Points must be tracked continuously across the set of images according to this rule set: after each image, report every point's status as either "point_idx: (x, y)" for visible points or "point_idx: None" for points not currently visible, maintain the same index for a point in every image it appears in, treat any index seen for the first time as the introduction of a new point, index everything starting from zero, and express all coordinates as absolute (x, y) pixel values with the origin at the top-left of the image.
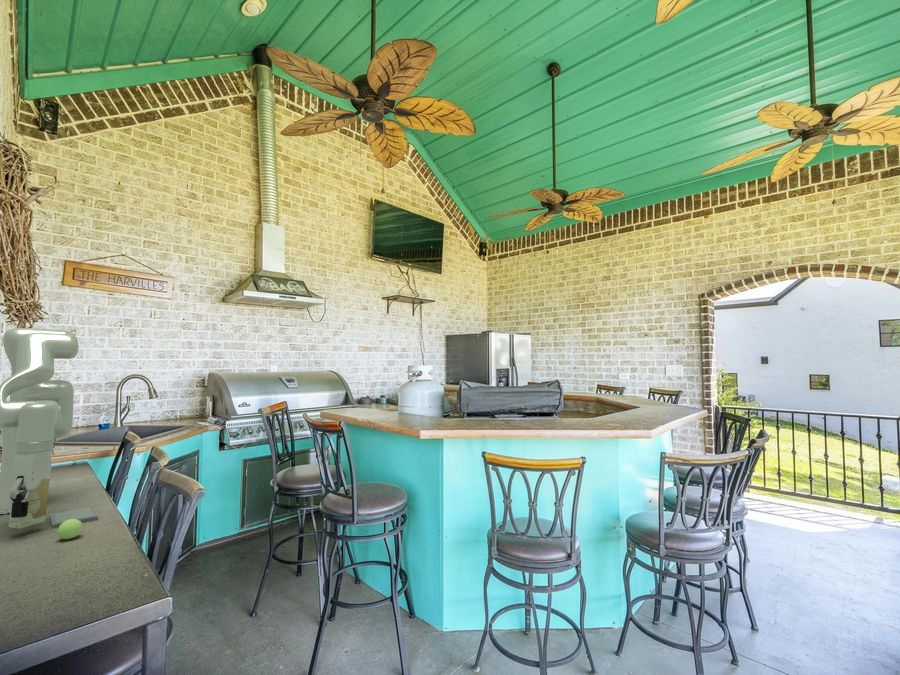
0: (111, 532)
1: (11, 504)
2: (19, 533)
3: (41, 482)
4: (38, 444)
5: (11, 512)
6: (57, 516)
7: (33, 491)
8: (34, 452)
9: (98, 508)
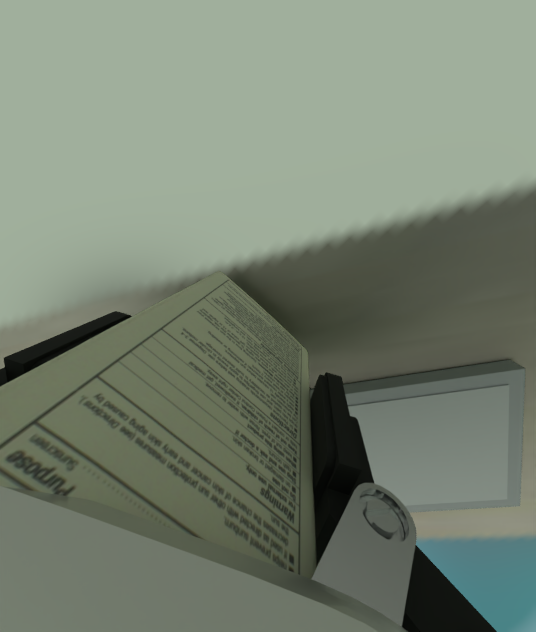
0: None
1: (138, 314)
2: (269, 296)
3: None
4: None
5: (90, 322)
6: (419, 406)
7: None
8: None
9: (517, 507)
